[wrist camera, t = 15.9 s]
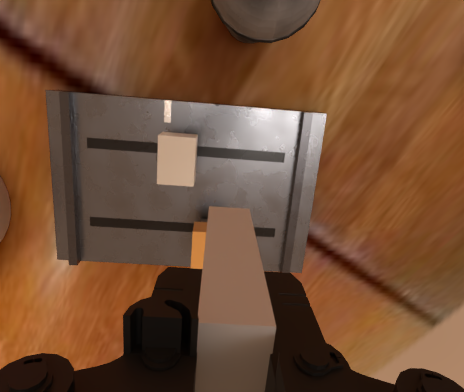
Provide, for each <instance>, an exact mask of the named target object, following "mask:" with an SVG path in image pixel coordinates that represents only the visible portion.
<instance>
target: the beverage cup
mask: <svg viewBox="0 0 464 392" xmlns="http://www.w3.org/2000/svg"><path fill="white" fill-rule="evenodd" d="M211 2H212V6H213V7H214V9H215V11H216V12H217V14H218V16H219V17H220V19H221V21H222V22H223V23H224V24H225V25H226V27H227V28H228V30H229V32H230V33H231V34H232V35H233V36H234V37H235V38H236V39H237V40H239V41H241V42H244V43H257V42H264V43H272V42H276V41H279V40H283V39H286V38H289V37H290V36H292V35H293V34H295V33H296V32H297V31H299V30H300V29H302V28H303V27H304V26H305V25H306V24H307V22H308V21H309V20H310V19H311V17H312V16H313V15H314V13H315V12H316V10H317V8H318V5H319V3H320V0H211Z"/></svg>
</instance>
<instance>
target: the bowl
mask: <svg viewBox="0 0 464 392" xmlns="http://www.w3.org/2000/svg"><path fill="white" fill-rule="evenodd" d="M10 218H11V203H10V199H9V194H8V191H7V188H6V186H5V184H4V182H3V179H2V178H1V176H0V242H1V241H2V239H3V238H4V236H5V233H6V231H7V229H8V227H9V222H10Z"/></svg>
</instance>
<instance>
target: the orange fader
mask: <svg viewBox="0 0 464 392" xmlns="http://www.w3.org/2000/svg"><path fill="white" fill-rule="evenodd" d="M207 221H208V219H202V218H201V221H200V222H195V221H194V227H193V234H192V252H191V268H193V269H203V260H204V250H205V240H206V231H207Z"/></svg>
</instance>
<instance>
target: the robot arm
mask: <svg viewBox="0 0 464 392" xmlns="http://www.w3.org/2000/svg"><path fill="white" fill-rule="evenodd" d="M123 337H124V354H123V356H121V357H120V358H118V359H116V360H114V361H112V362H110V363H107V364H103V365H100V366H96V367H92V368H87V369H82V370H77V371H74V368H73V367H72V365H71V364H70V362H69V360H68V359H66V358H64V357H62V356H59V355H57V354H45V353H41V354H36V355H31V356H26V357H23V358H21V359H19V360H16V361H14V362H11V363H9V364H8V365H6V366H5V367H3V368H2V369H0V392H464V389H463V388H462V387H461V386H459V385H458V384H457V383H456V382H454V381H453V380H451V379H449V378H447V377H445V376H443V375H441V374H439V373H436V372H433V371H429V370H426V369H415V368H412V369H411V368H410V369H407V370H405V371H403V372H401V373H400V374H399V376H398V378H397V380H396V383H395V385H394V384H391V383H387V382H384V381H381V380H378V379H374V378H371V377H367V376H365V375H362V374H360V373H357V372H355V371H353V370H351V369H350V366H349V364H348V362H347V361H346V360H345V358H344V357H343V355H342V354H341V353H340V352H339V351H338V350H336V349H335V348H334V347H332V346H331V345H329V344H327V343H326V342H325V340H324V338H323V335H322V333H321V330H320V328H319V325H318V323H317V320H316V318H315V315H314V313H313V310H312V308H311V307H310V303H309V301H308V298H307V297H306V293H305V291H304V288H303V286H302V283H301V282H300V281H299V280H297V279H296V278H295V277H294V276H293V275H292V274H291V273H281V272H265V271H264V270H263V266H262V262H261V257H260V253H259V248H258V244H257V240H256V235H255V231H254V227H253V222H252V218H251V214H250V209H244V208H230V207H215V206H209V211H208V221H207V231H206V240H205V250H204V260H203V269H193V268H176V267H168V268H167V269H166V270H165V271H164V272H162V273H161V274H160V275H159V276H158V278H157V281H156V284H155V287H154V290H153V293H152V296H151V297H149V298H146V299H142V300H140V301H138V302H136V303H135V304H133V305H132V306H130V307H129V308H128V310H127V311H126V312H125V314H124V315H123Z"/></svg>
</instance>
